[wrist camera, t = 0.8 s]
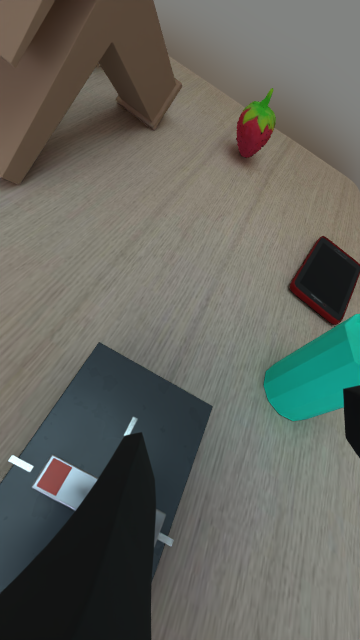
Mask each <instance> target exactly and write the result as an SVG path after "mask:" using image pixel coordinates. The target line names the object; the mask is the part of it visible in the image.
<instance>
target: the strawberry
mask: <svg viewBox="0 0 360 640" xmlns="http://www.w3.org/2000/svg"><path fill="white" fill-rule="evenodd" d="M272 92H273V88H272V89H270V91H269V93H268V94H267V96H266V98H265V99H264V100H262V101H261V102H256V101H254V102H252V103H250V104H249V105H248V106H247V107H246V108H245V109H244V110H243V112H242V113H241V115H240V117H239V121H238V122H237V138H236V140H237V141H238V144H237V145H238V150H239V152H240V154H241V156H243V157H245V158H247V157H248V158H249V157H252V156H253V154H256V152H258V151H259V150H260V149H261V147H264V145H265V144H266V143H267V141H268V140H269V138H270V137H271V136H270V135H271V134H272V132H273V130H274V128H275V127H274V126H275V121H276V117H275V115H274V112H273V111H272V110H271V109H270V108H269V107H268V103H269V101H270V98H271V95H272Z"/></svg>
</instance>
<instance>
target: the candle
mask: <svg viewBox="0 0 360 640" xmlns="http://www.w3.org/2000/svg"><path fill="white" fill-rule="evenodd" d="M358 385H360V314H355V315H354V316H352V317H350V318H349V319H347V320H346V321H344V322H342V323H341V324H339V325H337V326H336V327H334V328H332V329H331V330H329V331H327V332H326V333H324V334H323V335H321V336H319V337H318V338H316V339H314V340H313V341H311V342H309V343H308V344H306V345H304V346H303V347H301V348H300V349H298V350H296V351H295V352H293V353H291V354H290V355H288V356H286V357H285V358H283V359H281V360H280V361H278V362H277V363H275V364H274V365H273V366H271V367H270V368H269V369H268V370H267V371H266V374H265V379H264V388H265V392H266V395H267V398H268V401H269V402H270V404H271V405H272V406H273V407H274V408H275V410H276V411H277V412H278V413H279V414H280V415H282V416H284V417H286V418H288V419H290V420H292V421H298V420H305V419H308V418H312V417H315V416H318V415H321V414H324V413H327V412H330V411H334V410H337V409H340V408H343V407H344V399H343V389H344V388H349V387H354V386H358Z"/></svg>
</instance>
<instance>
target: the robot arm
mask: <svg viewBox="0 0 360 640" xmlns="http://www.w3.org/2000/svg"><path fill="white" fill-rule="evenodd" d="M343 399H344V417H345V435H346V439H347V441H348V442H349V443H350V445H351V446H352V448H353V449H354V451H355V452H356V454H357V455H358V456H359V458H360V385H358V386H354V387H349V388H344V389H343ZM155 523H156V491H155V478H154V474H153V470H152V467H151V463H150V459H149V456H148V452H147V448H146V445H145V441H144V437H143V434H142V432H139V433H134V434H130V435H125V436H124V438H123V439H122V441H121V442H120V444H119V446H118V447H117V449H116V451H115V452H114V454H113V456H112V457H111V459H110V461H109V462H108V464H107V465H106V467H105V469H104V470H103V472H102V473H101V475H100V476H99V478H98V479H97V481H96V483H95V484H94V486H93V487H92V488H91V490H90V491H89V493H88V494H87V495H86V497H85V498H84V500H83V501H82V502H81V504H80V505H79V507H78V508H77V509H76V511H75V512H74V513H73V515H72V516H71V517H70V518H69V520H68V521H67V522H66V523H65V525H64V526H63V527H62V528H61V529H60V531H59V532H58V533H57V534H56V535H55V536H54V538H53V539H52V540H51V541H50V542H49V543H48V544H47V546H46V547H45V548H44V549H43V550H42V551H41V552H40V553H39V554H38V555H37V556H36V557H35V558H34V559H33V560H32V561H31V562H30V564H29V565H28V566H27V567H26V568H25V569H24V570H23V571H22V572H21V573H20V574H19V575H18V576H17V577H16V578H15V579H14V580H13V581H12V582H11V583H10V584H9V585H8V586H7V587H6V588H5V589H4V590H3V591H2V592H1V593H0V640H151V584H152V569H153V554H154V539H155Z"/></svg>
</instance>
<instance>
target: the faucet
mask: <svg viewBox="0 0 360 640" xmlns="http://www.w3.org/2000/svg"><path fill="white" fill-rule="evenodd" d="M98 62H99V63H100V65H101V67H102V68H103V70H104V71H105V73H106V75H107V76H108V78H109V80H110V81H111V83H112V85H113V86H114V88H115V90H116V91H117V93H118V97H117V98H116V101H117V102H118V103H119V104H120V105H121V106H123V107H124V108H125V109H127V110H128V111H129V112H131V113H132V114H133V115H134V116H136V117H137V118H138V119H140V120H141V121H142V122H144V123H145V124H146V125H148V126H149V127H150V128H152V129H153V130H155V129H156V127H157V125H158V124H159V122H160V121H161V119H162V118H163V116H164V114H165V113H166V111H167V110H168V108H169V107H170V105H171V103H172V102H173V100H174V99H175V97H176V96H177V94H178V92H179V91H180V89H181V88H182V84H181V82H179V81H178V80H177V79H175V78H174V75H173V72H172V68H171V64H170V60H169V57H168V53H167V49H166V46H165V42H164V38H163V35H162V31H161V27H160V23H159V20H158V16H157V12H156V9H155V5H154V1H153V0H0V177H1V178H4V179H6V180H8V181H11V182H13V183H15V184H18V185H20V183H21V182H22V180H23V179H24V177H25V175H26V174H27V172H28V171H29V169H30V168H31V166H32V165H33V163H34V162H35V160H36V158H37V157H38V155H39V154H40V152H41V151H42V149H43V148H44V146H45V144H46V143H47V141H48V140H49V138H50V137H51V135H52V134H53V132H54V131H55V129H56V127H57V126H58V124H59V123H60V121H61V120H62V118H63V117H64V115H65V114H66V112H67V110H68V109H69V107H70V106H71V104H72V103H73V101H74V100H75V98H76V96H77V95H78V93H79V92H80V90H81V89H82V87H83V86H84V84H85V83H86V81H87V79H88V78H89V76H90V75H91V73H92V72H93V70H94V69H95V67H96V65H97V64H98Z"/></svg>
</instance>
